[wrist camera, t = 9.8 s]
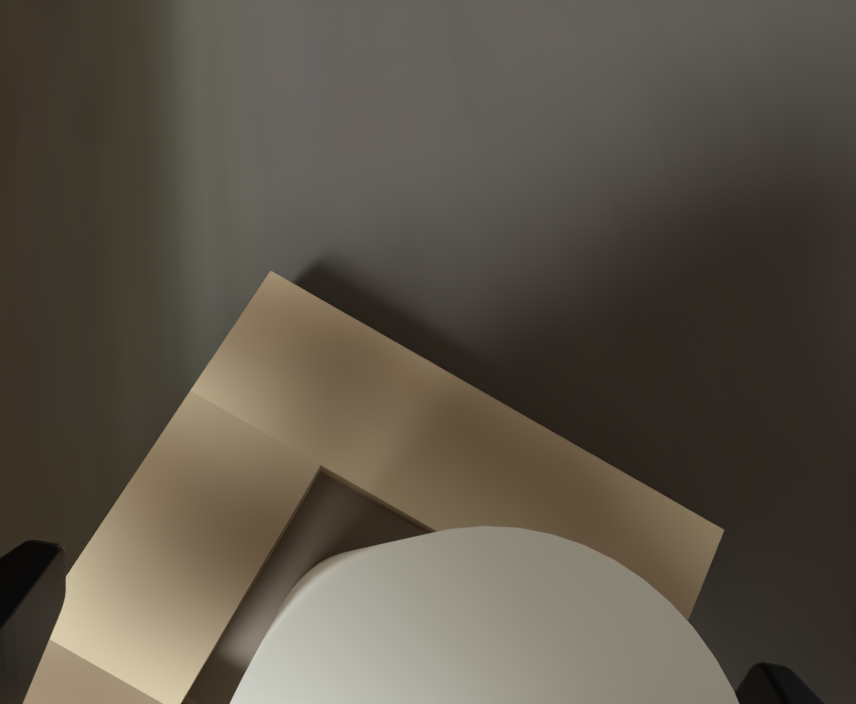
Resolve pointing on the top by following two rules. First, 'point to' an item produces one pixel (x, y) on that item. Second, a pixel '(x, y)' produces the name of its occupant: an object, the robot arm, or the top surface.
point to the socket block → (321, 502)
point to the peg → (479, 629)
